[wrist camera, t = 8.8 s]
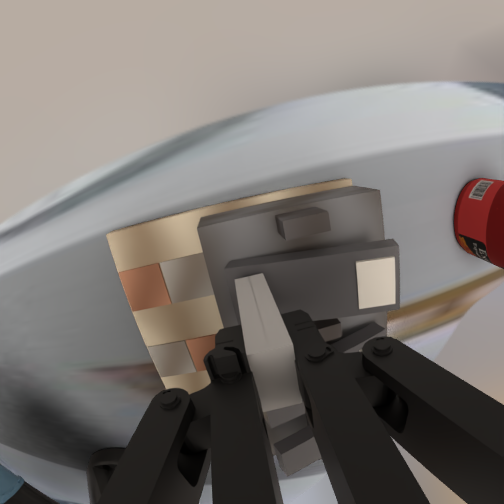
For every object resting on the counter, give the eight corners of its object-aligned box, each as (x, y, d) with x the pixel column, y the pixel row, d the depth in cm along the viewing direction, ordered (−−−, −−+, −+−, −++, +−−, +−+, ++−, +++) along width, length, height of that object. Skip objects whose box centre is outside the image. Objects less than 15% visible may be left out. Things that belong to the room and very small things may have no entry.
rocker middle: (264, 417, 17) (272, 430, 16) (252, 378, 16) (262, 392, 15) (373, 361, 20) (385, 370, 18) (374, 322, 19) (387, 330, 17)
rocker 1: (243, 316, 18) (238, 329, 16) (229, 260, 17) (222, 270, 15) (394, 298, 15) (400, 311, 14) (392, 238, 14) (399, 246, 13)
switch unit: (194, 432, 27) (193, 486, 20) (111, 231, 20) (69, 258, 14) (359, 393, 28) (387, 438, 21) (344, 178, 21) (396, 184, 14)
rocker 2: (280, 466, 19) (288, 478, 17) (273, 444, 18) (282, 456, 16) (367, 413, 22) (378, 421, 21) (369, 386, 21) (381, 394, 20)
